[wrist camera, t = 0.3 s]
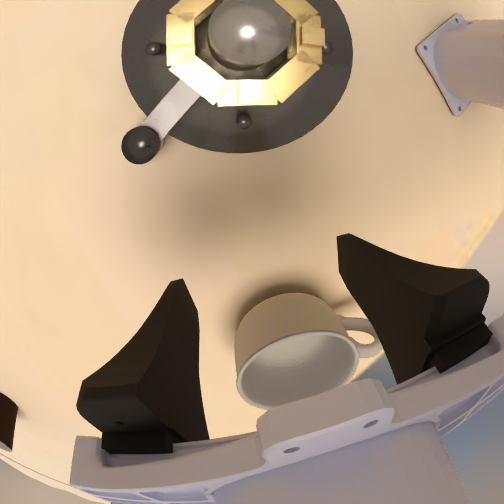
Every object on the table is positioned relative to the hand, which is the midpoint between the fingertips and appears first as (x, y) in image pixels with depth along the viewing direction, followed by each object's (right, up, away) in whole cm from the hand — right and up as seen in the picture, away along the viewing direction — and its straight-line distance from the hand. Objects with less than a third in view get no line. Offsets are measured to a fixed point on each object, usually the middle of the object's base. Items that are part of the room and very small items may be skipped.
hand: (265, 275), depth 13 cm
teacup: (+4, -5, +16) cm, 17 cm away
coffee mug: (-50, -28, +19) cm, 61 cm away
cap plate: (-1, +15, +3) cm, 16 cm away
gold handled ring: (-3, +13, +2) cm, 13 cm away
